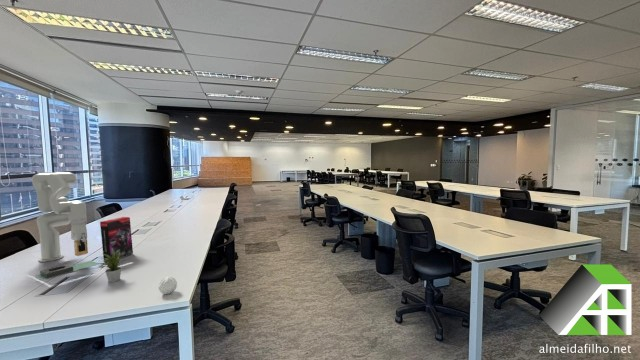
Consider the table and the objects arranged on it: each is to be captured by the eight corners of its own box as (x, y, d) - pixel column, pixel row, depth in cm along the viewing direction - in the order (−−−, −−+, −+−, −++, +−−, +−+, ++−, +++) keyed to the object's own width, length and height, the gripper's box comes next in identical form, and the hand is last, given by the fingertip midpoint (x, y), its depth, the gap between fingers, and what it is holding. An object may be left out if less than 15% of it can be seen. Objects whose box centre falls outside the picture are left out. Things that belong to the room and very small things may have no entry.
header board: (35, 277, 156) (34, 270, 156) (90, 262, 179) (90, 256, 178) (43, 281, 150) (43, 274, 149) (99, 265, 172) (99, 259, 172)
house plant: (102, 276, 154) (100, 248, 153) (131, 272, 159) (129, 245, 158) (93, 287, 141) (91, 256, 140) (125, 282, 146) (123, 252, 145)
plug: (74, 255, 167) (74, 241, 167) (86, 252, 172) (85, 238, 172) (77, 256, 166) (76, 241, 165) (88, 253, 171) (87, 239, 170)
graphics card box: (110, 262, 177) (107, 221, 176) (102, 262, 179) (99, 221, 177) (133, 254, 194) (131, 216, 192) (125, 253, 195) (123, 216, 194)
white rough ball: (157, 298, 127) (156, 282, 127) (160, 291, 134) (159, 276, 134) (176, 294, 131) (175, 279, 130) (178, 288, 138) (177, 273, 137)
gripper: (65, 221, 168) (67, 250, 169) (77, 224, 160) (78, 254, 161) (80, 219, 175) (82, 247, 176) (92, 221, 167) (94, 250, 168)
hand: (80, 250), depth 168 cm, fingers closed on plug, 3 cm apart
